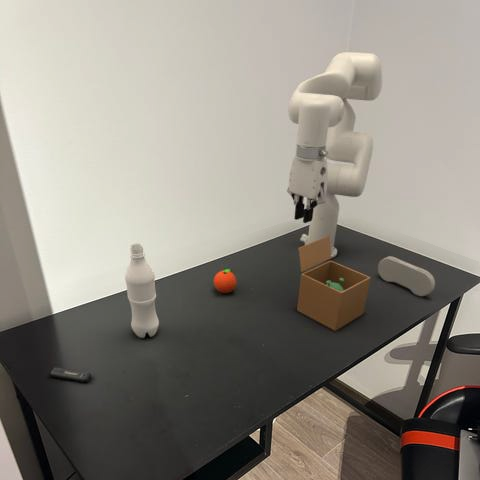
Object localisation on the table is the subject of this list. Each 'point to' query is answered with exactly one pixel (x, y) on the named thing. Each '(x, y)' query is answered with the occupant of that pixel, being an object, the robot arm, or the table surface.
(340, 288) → the alien toy
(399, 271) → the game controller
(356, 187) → the robot arm
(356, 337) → the table surface
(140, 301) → the water bottle
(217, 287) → the clementine
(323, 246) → the flap
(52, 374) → the usb stick
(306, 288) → the carton
